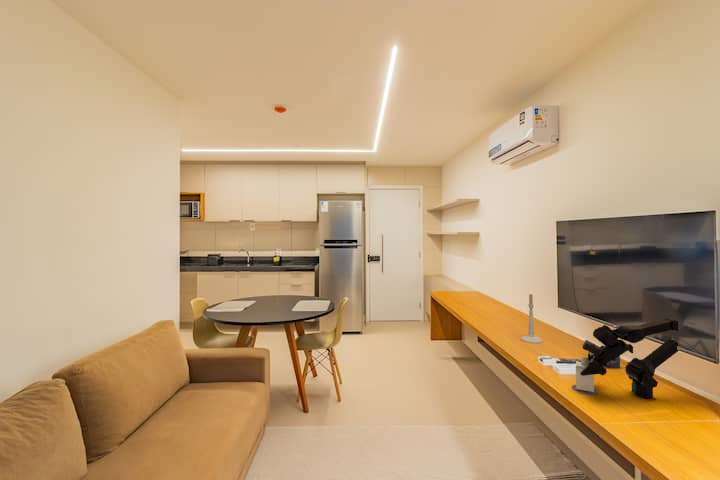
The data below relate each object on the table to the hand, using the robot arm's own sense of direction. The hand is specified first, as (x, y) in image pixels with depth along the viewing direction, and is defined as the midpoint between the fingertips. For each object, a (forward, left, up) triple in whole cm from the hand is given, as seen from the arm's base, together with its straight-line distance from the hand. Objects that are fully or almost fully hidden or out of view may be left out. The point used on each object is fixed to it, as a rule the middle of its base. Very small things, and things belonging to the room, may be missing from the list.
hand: (581, 371), depth 150 cm
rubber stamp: (-1, -1, -7) cm, 7 cm away
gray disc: (-1, -1, -8) cm, 9 cm away
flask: (+20, -34, -9) cm, 41 cm away
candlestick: (+67, -23, -9) cm, 72 cm away
